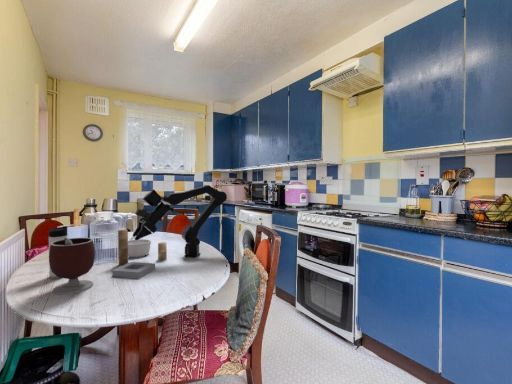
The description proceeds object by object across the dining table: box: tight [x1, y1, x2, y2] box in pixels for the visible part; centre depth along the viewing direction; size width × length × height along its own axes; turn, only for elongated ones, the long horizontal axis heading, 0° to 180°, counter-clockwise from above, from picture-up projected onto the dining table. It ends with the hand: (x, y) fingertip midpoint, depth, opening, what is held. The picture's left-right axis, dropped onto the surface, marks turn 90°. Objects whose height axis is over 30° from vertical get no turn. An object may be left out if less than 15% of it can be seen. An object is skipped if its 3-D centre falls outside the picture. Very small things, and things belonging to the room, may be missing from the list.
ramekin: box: [128, 238, 152, 258], centre depth 146 cm, size 13×13×7 cm
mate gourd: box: [48, 237, 96, 296], centre depth 100 cm, size 16×14×20 cm
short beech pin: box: [157, 241, 168, 261], centre depth 138 cm, size 4×4×8 cm
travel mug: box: [48, 225, 69, 280], centre depth 112 cm, size 6×7×20 cm
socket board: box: [111, 261, 156, 279], centre depth 118 cm, size 12×12×2 cm
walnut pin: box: [117, 229, 129, 267], centre depth 128 cm, size 4×4×16 cm
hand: (134, 237), depth 131 cm, fingers open, 9 cm apart
